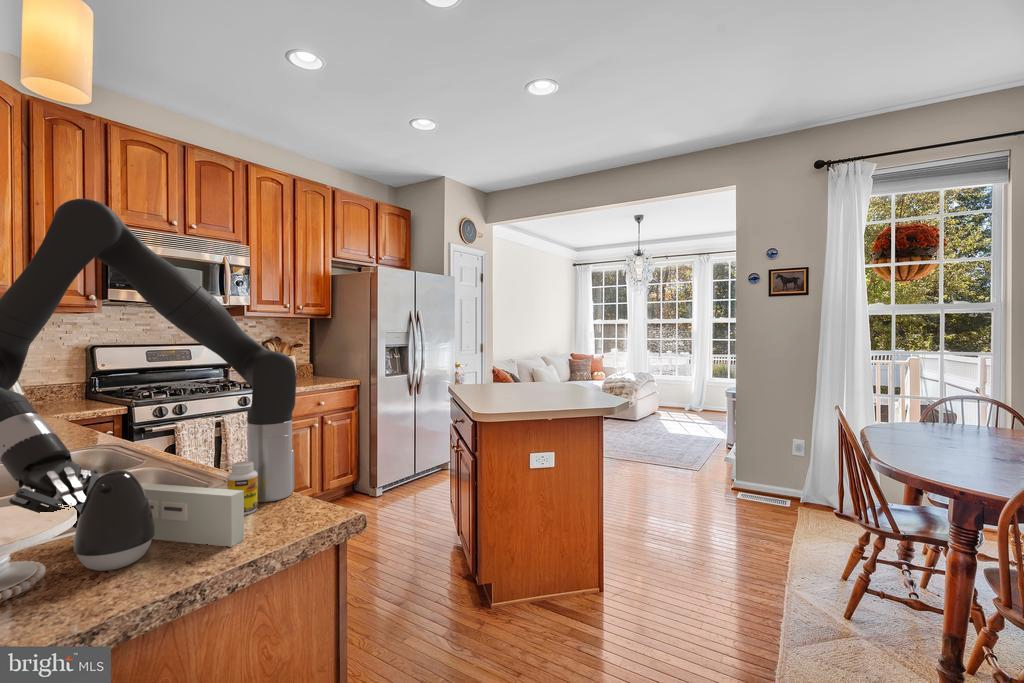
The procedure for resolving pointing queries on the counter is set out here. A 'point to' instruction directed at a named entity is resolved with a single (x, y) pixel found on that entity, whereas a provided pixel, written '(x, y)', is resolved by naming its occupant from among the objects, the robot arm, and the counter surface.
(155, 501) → the rectangular box with label
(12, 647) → the counter surface
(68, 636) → the counter surface
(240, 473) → the supplement bottle
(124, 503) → the dark grey egg device
